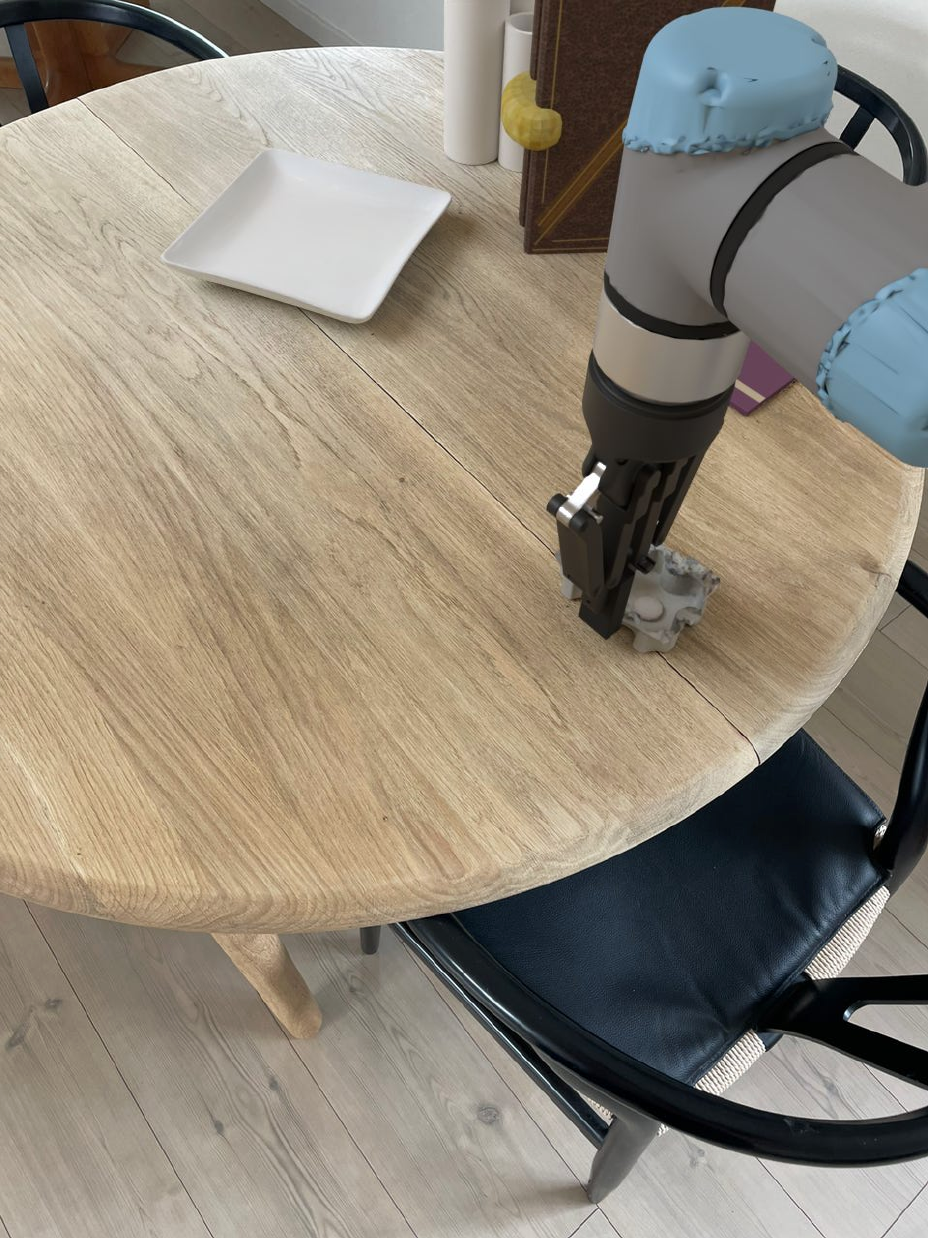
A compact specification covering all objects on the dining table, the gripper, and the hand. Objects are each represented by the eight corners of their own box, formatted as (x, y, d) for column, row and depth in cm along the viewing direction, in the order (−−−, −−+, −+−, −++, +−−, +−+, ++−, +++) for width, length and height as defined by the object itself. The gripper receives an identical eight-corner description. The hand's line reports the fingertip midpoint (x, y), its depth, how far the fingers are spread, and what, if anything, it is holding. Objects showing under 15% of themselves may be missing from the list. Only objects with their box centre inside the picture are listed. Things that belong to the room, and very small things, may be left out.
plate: (456, 219, 98) (457, 188, 96) (369, 349, 87) (367, 317, 84) (269, 172, 103) (265, 141, 100) (163, 290, 91) (154, 258, 88)
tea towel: (828, 355, 88) (831, 349, 87) (745, 417, 83) (748, 410, 83) (725, 291, 93) (726, 285, 92) (641, 346, 88) (642, 340, 88)
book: (702, 205, 101) (770, -73, 80) (720, 255, 96) (797, -26, 75) (490, 210, 100) (504, -71, 79) (498, 261, 95) (514, -24, 74)
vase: (437, 161, 104) (437, -50, 88) (451, 125, 108) (453, -82, 92) (541, 175, 103) (560, -36, 87) (551, 139, 107) (571, -69, 91)
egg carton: (716, 613, 72) (730, 580, 68) (649, 672, 69) (661, 640, 65) (608, 530, 76) (617, 494, 72) (541, 581, 73) (547, 547, 69)
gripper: (689, 272, 53) (620, 544, 73) (520, 379, 48) (495, 641, 67) (801, 340, 50) (698, 605, 70) (634, 462, 45) (574, 711, 64)
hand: (598, 622), depth 69 cm, fingers closed
